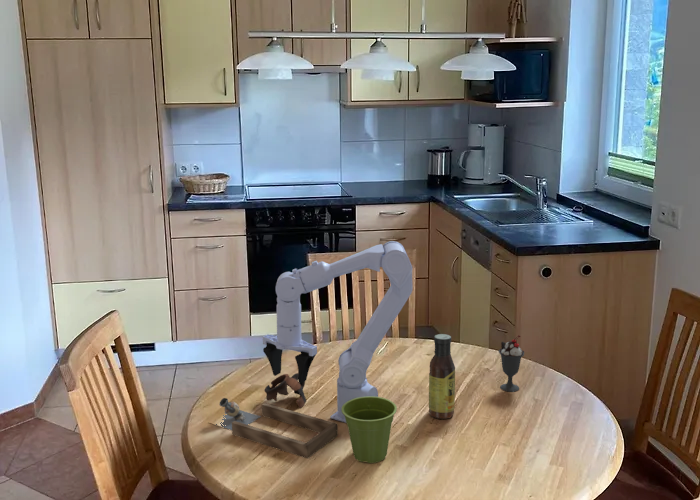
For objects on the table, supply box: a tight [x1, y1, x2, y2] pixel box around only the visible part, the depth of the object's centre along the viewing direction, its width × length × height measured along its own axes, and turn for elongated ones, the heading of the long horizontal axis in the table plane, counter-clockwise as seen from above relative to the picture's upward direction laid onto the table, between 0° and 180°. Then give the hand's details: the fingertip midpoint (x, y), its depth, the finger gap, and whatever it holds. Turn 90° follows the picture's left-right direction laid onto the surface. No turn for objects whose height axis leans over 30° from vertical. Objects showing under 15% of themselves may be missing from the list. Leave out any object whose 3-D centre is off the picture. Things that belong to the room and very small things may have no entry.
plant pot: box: [341, 396, 398, 464], centre depth 157 cm, size 12×12×11 cm
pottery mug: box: [263, 372, 307, 409], centre depth 185 cm, size 12×10×8 cm
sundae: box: [497, 334, 525, 393], centre depth 189 cm, size 7×7×15 cm
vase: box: [218, 397, 246, 421], centre depth 174 cm, size 5×5×6 cm
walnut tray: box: [231, 402, 339, 459], centre depth 167 cm, size 21×12×3 cm, turn 58°
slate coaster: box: [215, 409, 262, 431], centre depth 175 cm, size 9×9×1 cm
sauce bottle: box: [428, 333, 456, 420], centre depth 174 cm, size 7×6×20 cm
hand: (289, 377), depth 173 cm, fingers open, 7 cm apart
